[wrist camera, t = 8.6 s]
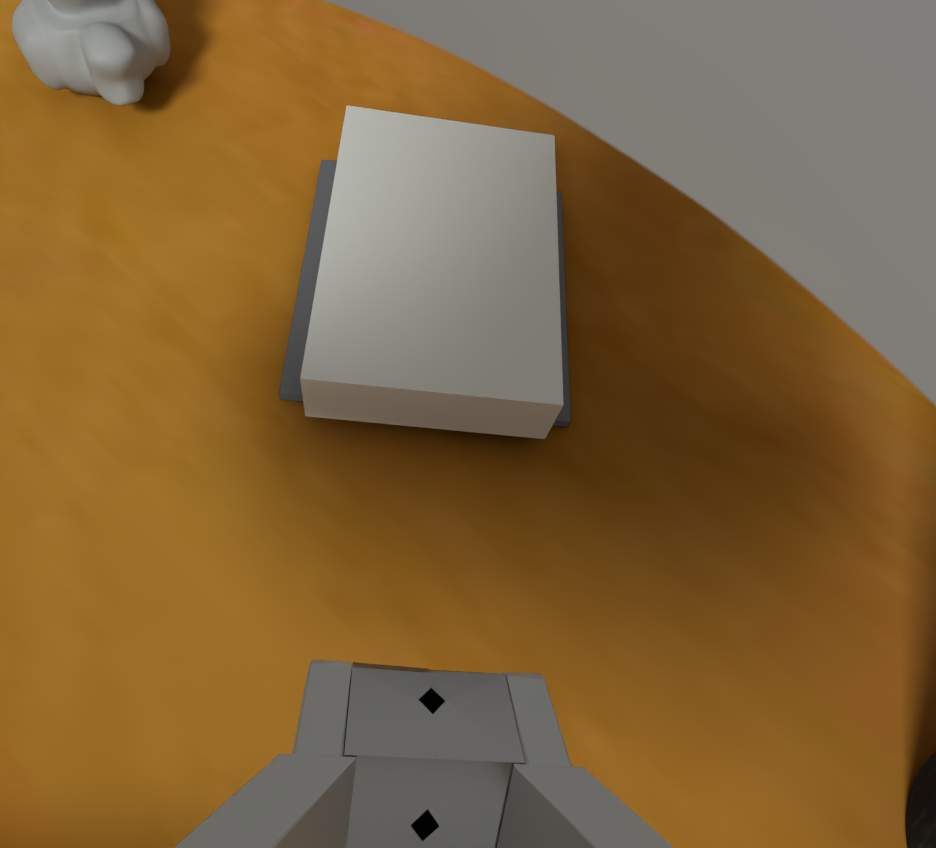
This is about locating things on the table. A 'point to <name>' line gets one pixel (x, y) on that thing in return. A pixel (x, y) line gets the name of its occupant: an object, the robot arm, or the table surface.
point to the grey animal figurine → (93, 44)
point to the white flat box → (438, 279)
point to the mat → (307, 286)
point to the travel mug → (923, 808)
